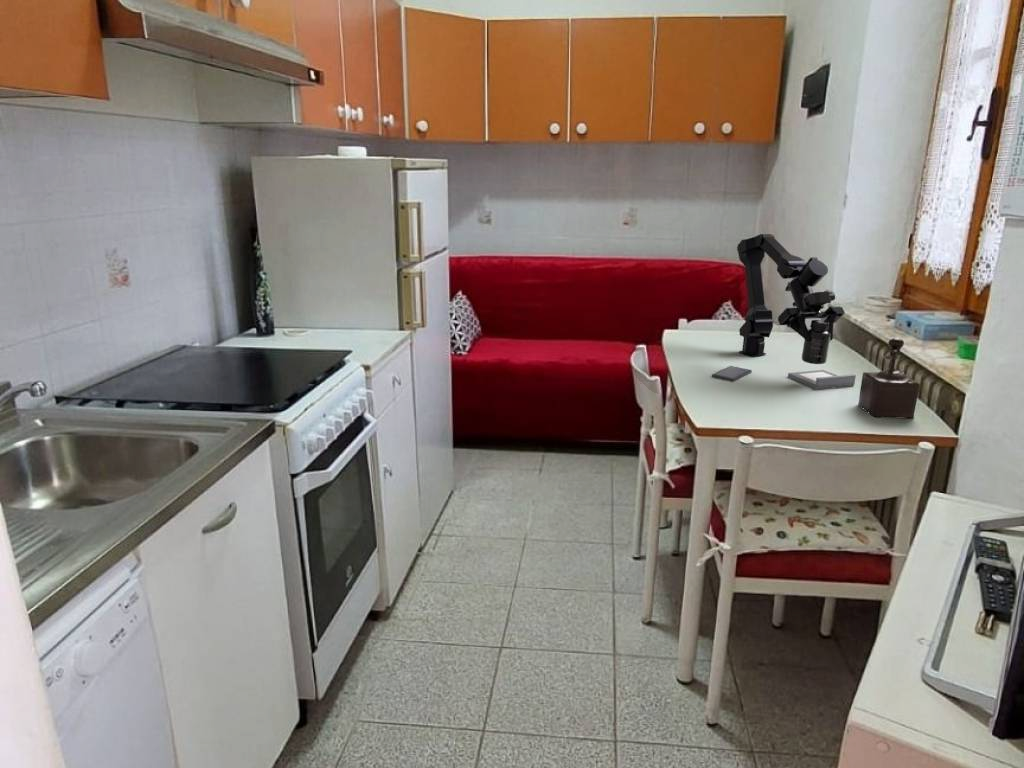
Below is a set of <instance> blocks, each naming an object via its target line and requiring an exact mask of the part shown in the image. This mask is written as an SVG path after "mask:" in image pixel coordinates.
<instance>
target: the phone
mask: <svg viewBox="0 0 1024 768" xmlns="http://www.w3.org/2000/svg"><path fill="white" fill-rule="evenodd" d="M752 371H753V370H752V369H747V368H743V367H738V366H733V365H729V366H727V367H725V368H722V369H721V370H718V371H717V372H714V373H712V374H711V377H712V378H714V377H715V378H714V379H719V378H721V379H720V380H725V381H728V380H729V382H735V381H738V380H740V379H741V378H744V377H745V376H748V375H749V374H752Z"/></svg>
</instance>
